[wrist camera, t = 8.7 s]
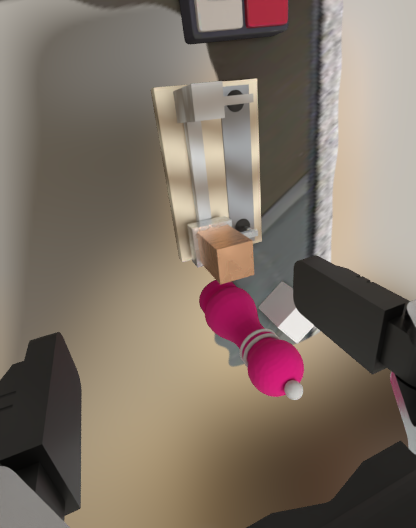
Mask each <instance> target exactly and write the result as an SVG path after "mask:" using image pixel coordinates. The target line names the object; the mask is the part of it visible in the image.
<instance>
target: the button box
mask: <svg viewBox="0 0 416 528" xmlns="http://www.w3.org/2000/svg"><path fill="white" fill-rule="evenodd" d="M179 1H180V8H181V18H182V25H183V33H184V39H185V42H186V43H187V44H199V43H207V42H217V41H227V40H237V39H248V38H258V37H268V36H274V35H276V34H279V33H281V32H284V31H286V30H287V28H288V6H289V0H179Z"/></svg>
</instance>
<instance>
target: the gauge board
mask: <svg viewBox="0 0 416 528" xmlns="http://www.w3.org/2000/svg"><path fill="white" fill-rule="evenodd" d="M151 94H152V100H153V106H154V112H155V118H156V124H157V130H158V136H159V142H160V148H161V153H162V159H163V165H164V171H165V177H166V183H167V189H168V195H169V201H170V207H171V212H172V218H173V225H174V230H175V237H176V242H177V248H178V254H179V259H180V260H181V261H182V262H185V261H189V260H192V255H191V248H190V241H189V234H188V228H187V224H191V223H195V222H200V221H204V220H208V219H213V218H217V217H222V216H226V217H228V218H229V219H231V220H232V228H234V229H236V230H237V231H239V232H244V227H245V226H248V227H249V228H251V229H257V230H258V236H256V237H252V238H249V239H251V240H253V244H254V243H257V242H261V241H262V235H261V200H260V165H259V130H258V94H257V79H247V80H236V81H224V82H222V81H216V82H205V83H193V84H189V85H179V86H167V87H156V88H152V89H151Z"/></svg>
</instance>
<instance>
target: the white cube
mask: <svg viewBox="0 0 416 528" xmlns="http://www.w3.org/2000/svg"><path fill="white" fill-rule="evenodd" d="M258 308H259V309H260V310H261V311H262V312H263V313H264V314H265V315H266V316H267V317H268V318H269V319H270V320H271V321H272V322H273V323H274V324H275V325H276V326H277V327H278V328H279V329H280V330H281V331H283V332H284V333H285V334H286V335H288V336H289V337H290V338H291V339H292V340H294V341H295V342H296V343H298V342H299V341H300V340H301V339H302V338H303V337H304V336H305V335H306V334H307V333H308V332H309V331H310V330H311V329H312V328H313V326H314V325H313V324H312V323H311V322H310V321H308V320H307V319H306V318H305V317H304V316H303V315H301V314H300V313H299V312H298V310H297V309H296V307H295V304H294V301H293V289H292V288H291V287H290V286H288V285H287V284H286V283H284V282H283V281H282V282H281V283H280V284H279V285H278V286H277V287H276V288H275V289H274V291H273V292H272V293H271V294H270V295H269V296H268V297H267V298H266V299H265V300H264V301H263V302H262V304H261V305H260V306H259V307H258Z"/></svg>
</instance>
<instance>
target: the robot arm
mask: <svg viewBox="0 0 416 528" xmlns="http://www.w3.org/2000/svg"><path fill="white" fill-rule="evenodd" d="M293 301H294V304H295V307H296V309H297V310H298V312H299V313H300V314H301V315H303V316H304V317H305V318H306V319H307V320H308V321H310V322H311V323H312V324H313V325H314V326H316V327H317V328H318V329H319V330H320V331H322V332H323V333H324V334H325V335H326V336H327V337H329V338H330V339H331V340H332V341H333V342H335V343H336V344H337V345H338V346H339V347H340V348H342V349H343V350H344V351H345V352H346V353H348V354H349V355H350V356H351V357H352V358H353V359H355V360H356V361H357V362H358V363H359V364H361V365H362V366H363V367H364V368H366V369H367V370H368V371H369V372H370V373H371V374H374V373H377V372H379V371H381V370H383V369H385V368H388V369H389V370H391V375H390V381H391V385H392V388H393V391H394V394H395V397H396V401H397V404H398V407H399V410H400V414H401V416H402V420H403V423H404V426H405V430H406V433H407V437H408V444H409V448H407V447H406V445H405V444H403V442H401V441H399V442H397V443H395V444H394V445H392V446H390V447H388V448H387V449H385V450H383V451H381V452H380V453H378V454H376V455H374V456H372V457H371V458H369V459H367V460H365V461H363V462H362V463H361V465H360V466H359V467H358V469H357V470H356V471H355V472H354V474H353V475H352V476H351V477H350V478H349V480H348V481H347V482H346V483H345V485H344V486H343V487H342V488H341V489H340V491H339V492H338V493H337V494H336V496H335V497H334V498H333V499H332V500H331V501H329V502H327V503H324V504H318V505H313V506H307V507H303V508H297V509H292V510H287V511H281V512H276V513H272V514H270V515H268V516H266V517H264V518H263V519H261V520H259V521H257V522H256V523H254V524H252V525H250V526H249V527H247V528H416V299H415V300H412V301H408V300H407V299H404V298H402V297H401V296H399V295H397V294H395V293H393V292H391V291H389V290H387V289H386V288H384V287H382V286H380V285H378V284H376V283H374V282H370V280H368V279H366V278H365V277H360V275H359V274H357V273H355V272H353V271H351V270H349V269H347V268H343V267H340V266H336V265H334V264H332V263H330V262H328V261H326V260H324V259H323V258H321V257H319V256H313V257H309V258H306V259H303V260H299V261H297V262H296V263H295V265H294V279H293ZM80 494H81V383H80V378H79V375H78V371H77V369H76V366H75V364H74V362H73V360H72V357H71V355H70V352H69V350H68V348H67V345H66V343H65V341H64V339H63V336H62V335H61V333H60V332H57V333H54V334H50V335H47V336H43V337H40V338H37V339H34V340H31V341H30V342H29V344H28V348H27V352H26V356H25V360H24V361H22V362H19V363H16V364H13V365H12V366H11V367H10V369H9V370H8V371H7V372H6V374H5V375H4V376H3V378H2V379H1V380H0V528H70V527H69V526H68V525H67V524H66V523H65V522H64V516H65V515H67V514H70V513H72V512H74V511H76V510H78V509H80V503H81V495H80Z"/></svg>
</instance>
